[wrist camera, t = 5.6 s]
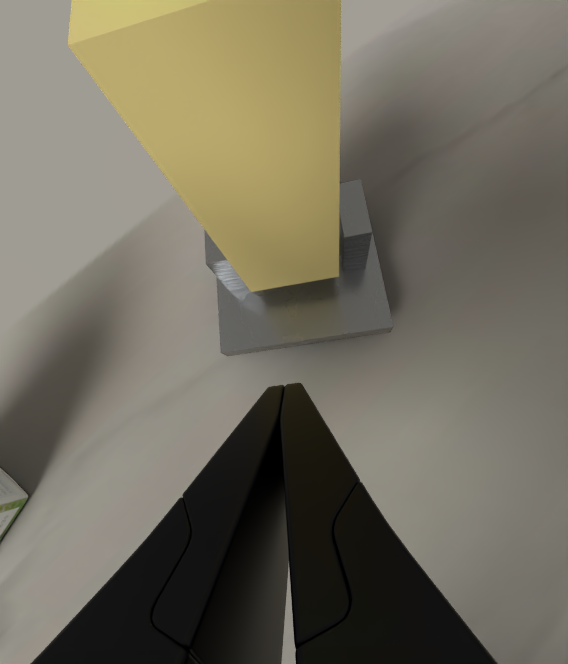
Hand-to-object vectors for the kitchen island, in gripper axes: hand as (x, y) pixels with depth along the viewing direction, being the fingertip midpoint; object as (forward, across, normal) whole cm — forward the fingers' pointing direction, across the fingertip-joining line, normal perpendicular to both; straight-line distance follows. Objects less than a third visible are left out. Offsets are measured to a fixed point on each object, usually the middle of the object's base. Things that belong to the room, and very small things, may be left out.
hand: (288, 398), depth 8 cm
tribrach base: (+12, 0, +1) cm, 12 cm away
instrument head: (+9, 0, -2) cm, 10 cm away
